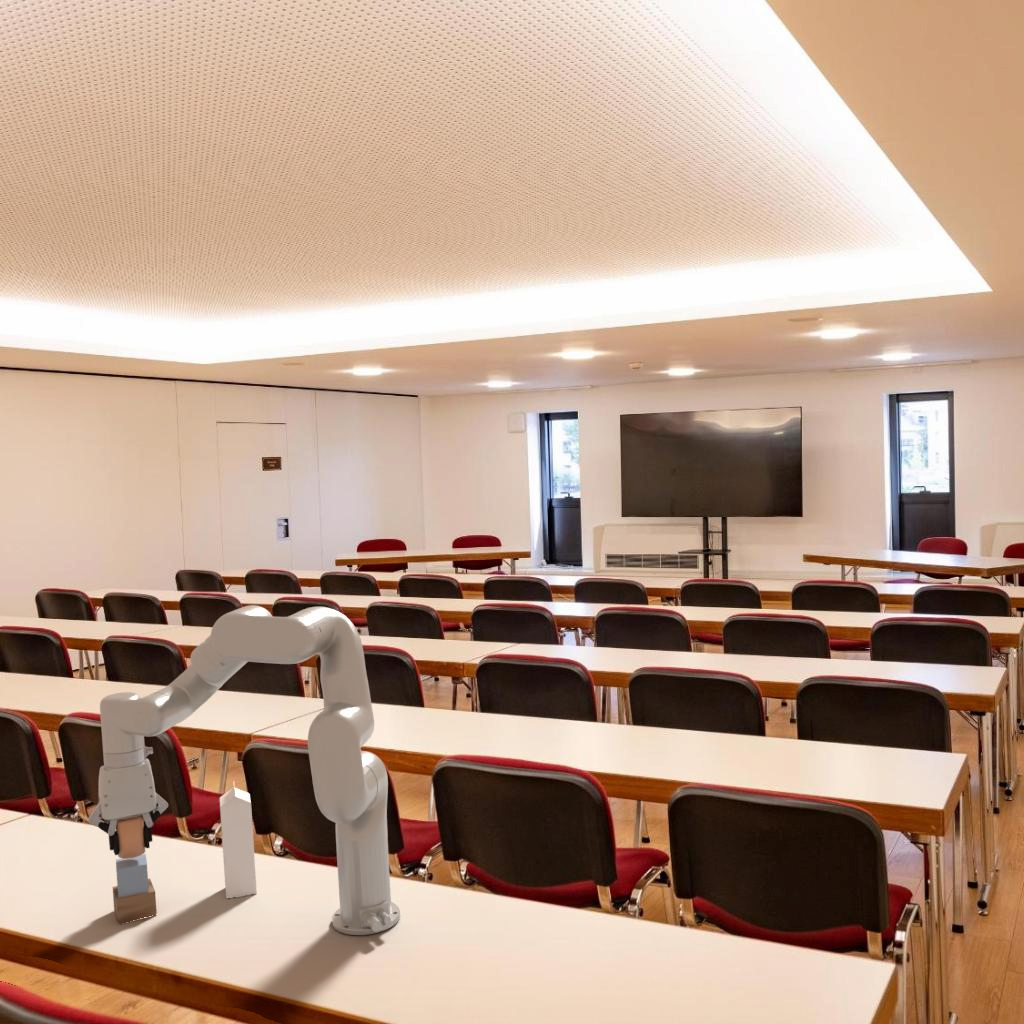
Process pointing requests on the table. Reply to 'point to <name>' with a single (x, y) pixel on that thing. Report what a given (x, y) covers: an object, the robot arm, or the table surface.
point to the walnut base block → (134, 905)
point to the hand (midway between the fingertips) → (131, 848)
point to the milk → (238, 843)
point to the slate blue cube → (132, 876)
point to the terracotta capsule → (130, 836)
